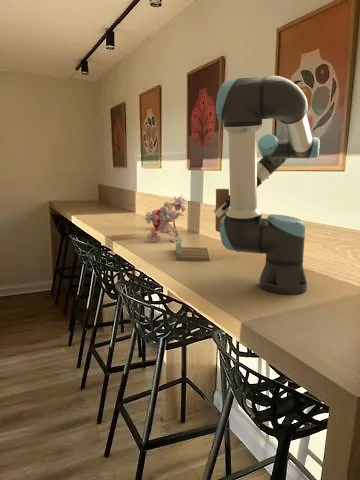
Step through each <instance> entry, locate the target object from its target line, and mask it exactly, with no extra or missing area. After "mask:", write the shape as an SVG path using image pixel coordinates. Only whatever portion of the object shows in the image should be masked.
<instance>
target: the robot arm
mask: <svg viewBox="0 0 360 480" xmlns="http://www.w3.org/2000/svg"><path fill="white" fill-rule="evenodd" d="M215 104H216V105H215V114H216V118H217V120H218V121H220V122H221V123H222V122H223V124H222V125H223V129H225V130H226V132H227V133H228V156H229V157H228V163H229V164H228V165H229V200H228V201H227V200H225V203H224V204H223V205H222V206H221V207H220V208H219V209H218V210H217V211H216V208H215V209H214V210H213V214H215V216H216V215H217V216H218V217H220V216H221V215H222V214H223V213H224V212H225V211H226V210H227V209H228V208H229V210H228V211H227V212H226V216H224V217H223V218H222V220H221V223H220V225H221V227H220V232H219V236H220V240H221V244H222V245H223V247H224V248H225V249H226V250H227V251H228V250H229V251H232V252H237V253H240V252H241V253H248V254H249V253H250V254H259V255H265V264H264V267H263V269H262V272H261V274H260V277H259V279H258V286H259V288H261V289H263V290H264V291H266V292H270V293H275V294H280V295H298V294H299V295H300V294H302V293H305V292H306V291H307V290H308V289H307V288H308V281H307V277H306V273H305V269H304V265H303V264H304V252H305V250H304V249H305V240H306V239H305V238H306V236H307V235H306V223H305V222H304V220H302V219H301V218H297V217H294V216H289V215H285V214H276V213H274V214H273V213H272V214H268V216H267V218H265V217H264V218H263V217H262V210H261V209H259V208H258V205H257V204H258V203H257V202H258V201H257V200H258V191H257V190H258V187H260V186H261V185H262V183H263V182H265V180H269V179H270V176H271V175H272V174H273V173H274V172H275V171H276V170H277V169H278V168H280V167H281V166H282V165H283V164H285V162H286V161H287V160H289V159H316V158H318V157H319V154H320V150H319V149H320V147H321V141H320V140H321V139H320V138H319V137H314V136H312V133H311V128H310V124H309V119H308V116H307V113H308V110H309V104H308V99H307V97H306V95H305V93H304V92H303V90H302V89H301V88H300V86H298V85H297V84H295V83H294V82H293V81H292V80H290V79H287V78H285V77H283V76H280V75H268V76H255V77H254V76H253V77H243V78H242V77H241V78H233V79H228V80H225V81H223V83H222V84H221V85H220V86H219V89H218V92H217V95H216V102H215ZM270 119H276V120H278V121H279V122H280V123H281V124H282V125H283V128H284V130H285V133H286V136H287V137H278V138H277V136H276V135H274V134H272V133H266V134H264V135H262V136H261V137H260V138H259V140H258V130H260V128H261V127H262V126H263V120H270ZM258 150H259V153H260V155H261V156H262V158H261V159H260V160H258Z"/></svg>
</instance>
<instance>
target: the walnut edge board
mask: <svg viewBox="0 0 360 480" xmlns="http://www.w3.org/2000/svg"><path fill="white" fill-rule="evenodd" d="M175 242H176V243H175V261H179V262H210V254H209V250H208V247H195V246H192V247H190V246H188V247H187V246H182V236H180V237H177V240H176V241H175Z"/></svg>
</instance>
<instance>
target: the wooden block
mask: <svg viewBox="0 0 360 480" xmlns="http://www.w3.org/2000/svg"><path fill="white" fill-rule="evenodd" d="M229 195H230V188H215V209H216V211H217V210H218V209H219V208H220V207H221V206H222V205H223V204H224V203H225V200H227V201H228V200H229ZM229 209H230V207H229V208H228V209H227V210H226V211H225V212H224V213H223V214H222V215H221V216H220V217H218V216H217V215H216V214H215V231H216V232H218V233H220V227H221V225H220V223H221V220H222V218H223V217H224V216H226V212H227V211H228V210H229Z"/></svg>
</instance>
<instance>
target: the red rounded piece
mask: <svg viewBox="0 0 360 480" xmlns="http://www.w3.org/2000/svg"><path fill="white" fill-rule="evenodd" d="M157 211H158V212H157V213H156V215H157V216H159V217H160V215H159V214H160V208H159V209H157ZM160 222H161V220H160V218H159V219H158V220H157V222H156V223H158V224H157V225H154V224H153V222H152V221H151V223H152V225H153V229H155V230H156V231H159V230H158V227H159V225H160V224H161V223H160ZM162 222H163V221H162Z"/></svg>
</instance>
